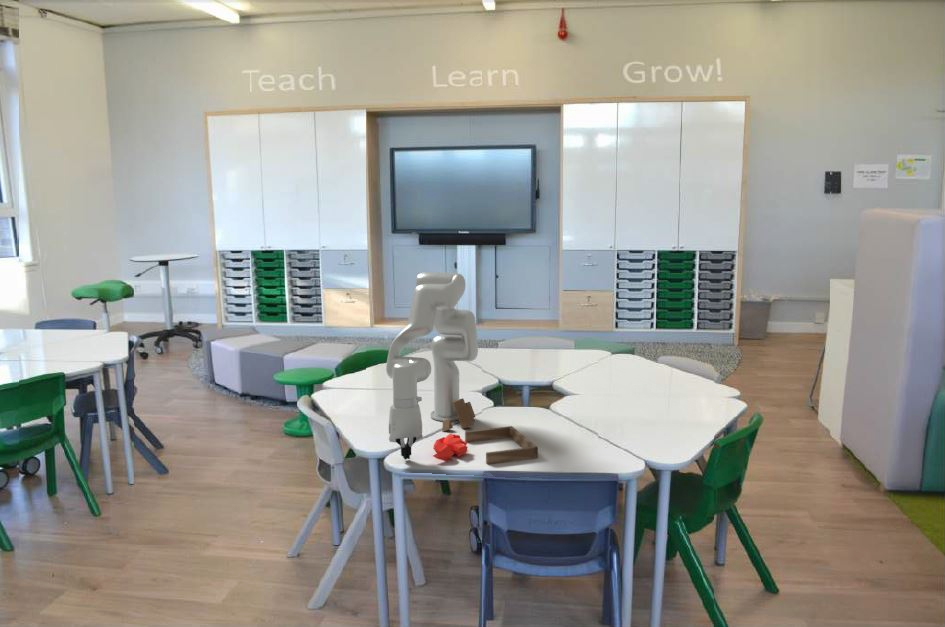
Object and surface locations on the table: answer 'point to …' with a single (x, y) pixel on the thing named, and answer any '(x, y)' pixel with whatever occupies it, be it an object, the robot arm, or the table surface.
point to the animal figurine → (449, 447)
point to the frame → (505, 455)
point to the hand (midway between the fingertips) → (406, 457)
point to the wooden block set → (461, 415)
